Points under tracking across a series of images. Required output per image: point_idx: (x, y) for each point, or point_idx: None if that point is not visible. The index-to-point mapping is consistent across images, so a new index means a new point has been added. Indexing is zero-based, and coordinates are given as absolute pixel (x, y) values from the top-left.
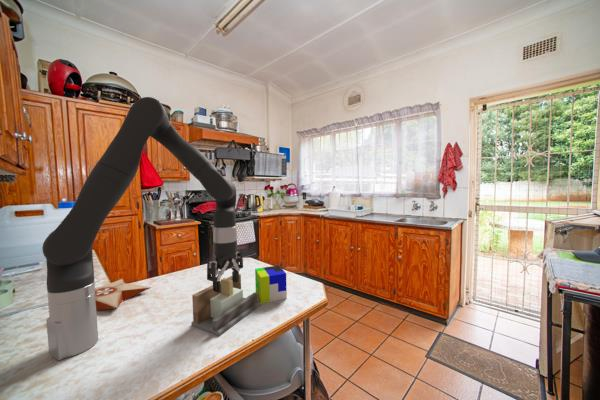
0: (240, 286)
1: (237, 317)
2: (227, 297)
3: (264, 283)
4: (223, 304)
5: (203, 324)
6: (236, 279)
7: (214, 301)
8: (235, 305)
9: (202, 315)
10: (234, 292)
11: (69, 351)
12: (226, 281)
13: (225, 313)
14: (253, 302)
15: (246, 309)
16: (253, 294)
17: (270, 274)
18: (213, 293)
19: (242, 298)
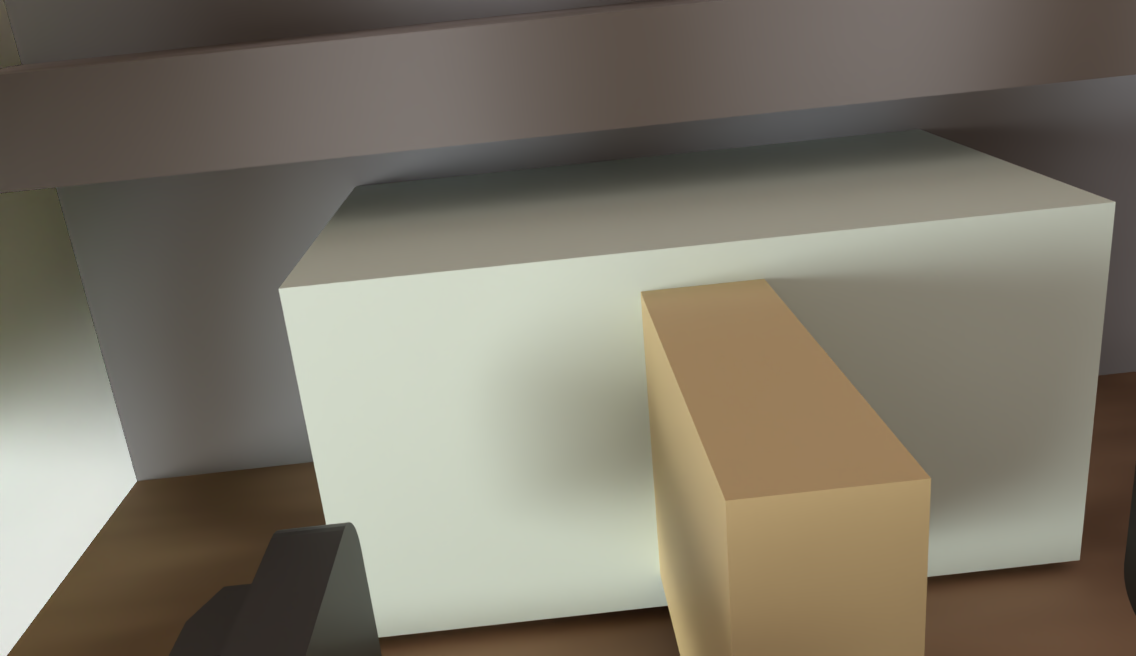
0: (54, 617)
1: None
2: (839, 285)
3: None
4: (1007, 189)
5: (1128, 297)
6: (335, 602)
7: (1073, 421)
8: (671, 102)
9: (1128, 420)
10: (531, 354)
11: None
12: (920, 617)
13: (1033, 18)
14: (156, 53)
15: (405, 26)
16: (27, 142)
17: None
18: (999, 638)
19: (340, 224)
